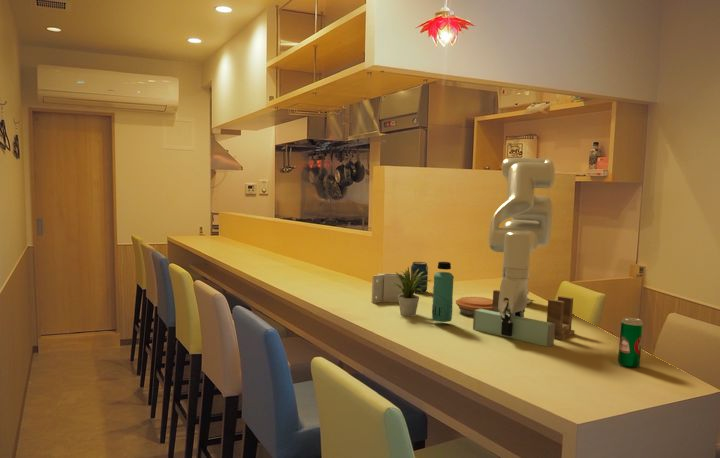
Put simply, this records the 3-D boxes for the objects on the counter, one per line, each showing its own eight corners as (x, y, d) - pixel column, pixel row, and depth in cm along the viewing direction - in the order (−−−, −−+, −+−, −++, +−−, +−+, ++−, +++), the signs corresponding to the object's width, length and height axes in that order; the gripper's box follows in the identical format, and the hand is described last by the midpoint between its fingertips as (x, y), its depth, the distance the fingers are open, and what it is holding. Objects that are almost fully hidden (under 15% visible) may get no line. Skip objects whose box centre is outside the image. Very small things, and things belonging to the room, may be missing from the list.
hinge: (372, 303, 202) (373, 275, 201) (367, 300, 207) (368, 273, 206) (407, 302, 206) (408, 275, 205) (402, 299, 211) (403, 273, 210)
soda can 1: (429, 291, 227) (431, 262, 226) (422, 294, 221) (423, 264, 220) (414, 289, 231) (415, 261, 230) (407, 291, 225) (408, 262, 224)
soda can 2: (613, 362, 143) (617, 316, 142) (632, 362, 143) (635, 316, 142) (624, 368, 138) (628, 321, 137) (643, 368, 138) (647, 321, 137)
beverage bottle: (453, 322, 177) (456, 261, 176) (449, 327, 171) (453, 264, 169) (433, 320, 179) (436, 259, 178) (429, 325, 173) (432, 262, 171)
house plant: (416, 323, 175) (419, 272, 174) (379, 316, 183) (381, 267, 181) (435, 314, 187) (437, 267, 186) (399, 308, 195) (401, 262, 193)
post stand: (502, 318, 185) (504, 286, 184) (574, 333, 169) (576, 298, 169) (488, 323, 178) (490, 290, 177) (561, 339, 162) (564, 303, 161)
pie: (501, 320, 183) (502, 305, 183) (454, 316, 186) (455, 302, 186) (499, 310, 198) (500, 296, 198) (455, 306, 202) (456, 293, 201)
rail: (478, 327, 173) (479, 308, 172) (553, 344, 157) (555, 323, 157) (472, 329, 170) (474, 310, 170) (548, 346, 155) (550, 325, 154)
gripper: (516, 268, 171) (513, 325, 173) (489, 274, 158) (486, 336, 160) (539, 272, 166) (536, 330, 168) (514, 278, 153) (510, 341, 155)
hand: (511, 332), depth 164 cm, fingers open, 6 cm apart
